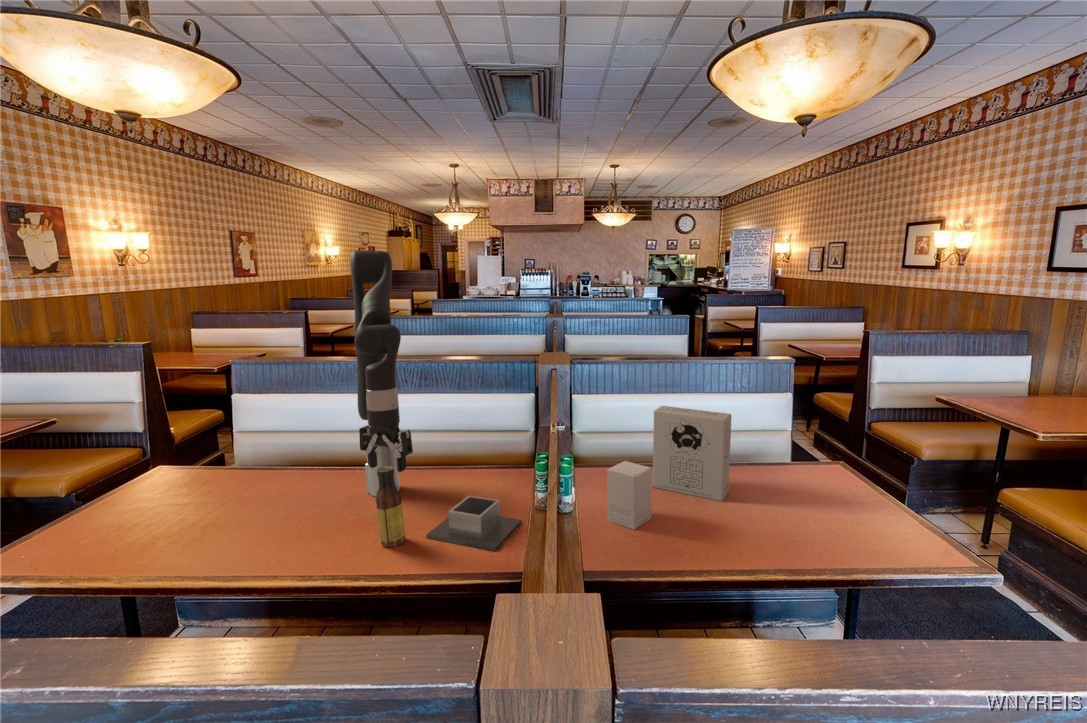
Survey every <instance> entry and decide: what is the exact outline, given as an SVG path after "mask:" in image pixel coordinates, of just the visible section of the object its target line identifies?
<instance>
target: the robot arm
mask: <svg viewBox="0 0 1087 723" xmlns="http://www.w3.org/2000/svg"><path fill="white" fill-rule="evenodd" d="M349 263H350V277H351V285H352V293H353V294H352V296H353V304H354V306H353V307H354V339H353V340H354V347H355V351H356V361H357V362H356V363H357V412H358V415H359V418H360V419H361V420H363V421H367V425H365V426H362V427H360V428H359V429H358V431H359V450H360V451H364V452H365V454H366V460H367V462H366V463H365V465H364V470H365V472H364V473H365V483H366V493H368V494H370V496H372V497H375V498H376V493H377V491H378V489H379V479H378V476H377V470H378V469H379V468H381V467H386V466H390V467H393V469H394V474H393V475H394V482H395V486H396V488H397V491H398V493H399V492H400V490H401V486H400V484H401V483H400V473H402V472H404V471H405V470H406V468H407V456H408V455H411V454H413V452H414V450H413V441H412V432H411V430H410V429H406V430H401V429H400V426H399V425H400V423H401V421H400V420H401V418H400V406H399V404H400V403H399V394H398V389H397V377H396V376H397V374H396V366H397V365H396V363H397V359H398V358H397V357H398V353H399V350H400V345H401V340H402V338H401V337H402V336H401V331H400V330H399V328H398V327H397V326H396V325H394V324H392V323H391V322H392V315H391V313H392V312H391V302H390V301H391V292H392V282H393V263H392V258H391V255H390V253H388V252H387V251H383V250H354V251H353V252H351V254H350V262H349ZM364 285H374V286H373V287H372V288H371V289H369V290H368V292H367V291H366V289H365V287H364Z"/></svg>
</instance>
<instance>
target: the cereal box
mask: <svg viewBox="0 0 1087 723" xmlns="http://www.w3.org/2000/svg"><path fill="white" fill-rule="evenodd" d="M652 432H653V438H652V439H653V440H652V441H653V443H652V444H653V445H652V446H653V447H652V488H655V489H659V490H664V491H665V490H666V491H670V492H675V493H680V494H683V495H689V496H692V497H693V496H694V497H698V498H702V499H708V500H713V501H718V502H723V501H724V500H725V498H726V496H727V495H728V493H729V490H730V489H729V488H730V487H729V486H730V464H731V463H730V462H731V460H730V459H731V441H732V440H731V437H732V436H731V434H732V414H731V413H726V412H720V411H719V412H718V411H711V410H701V409H693V408H687V407H686V408H683V407H678V406H677V407H676V406H668V405H661V406H660V407H658V408H656V409H654V410H653V431H652Z"/></svg>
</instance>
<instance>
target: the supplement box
mask: <svg viewBox="0 0 1087 723" xmlns="http://www.w3.org/2000/svg"><path fill="white" fill-rule="evenodd" d="M606 474H607V476H606V478H607V484H606V485H607V486H606V487H607V490H606V491H607V493H606V494H607V521H608V522H611V523H613V524H617V525H620V526H622V527H625V528H628V529H631V530H633V531H635V530H636V529H638V528H639V527H640V526H642V525H644V524H645V523H647V522H648V521H650V520H651V519H652V482H653V467H650V466H646V465H642V464H639V463H634V462H631V461H627V460H624V461H621V462H620V463H617V464H616V465H612V466H611V467H609V468H607V469H606Z"/></svg>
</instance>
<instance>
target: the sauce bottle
mask: <svg viewBox="0 0 1087 723" xmlns="http://www.w3.org/2000/svg"><path fill="white" fill-rule="evenodd" d="M393 474H394V469H393V467H390V466H386V467H381V468H379V469H378V470H377V476H378V479H379V489H378V491H377V493H376V497H375V502H376V514H377V522H378V523H377V524H378V534H379V539H380V543H381V545H382V546H383V547H387V548H394V547H395V548H396V547H397V546H400V545H402V544H403V543H404V542H405V540H406V530H405V529H406V528H405V521H404V511H403V502H402V497H401V495H400V493H399V492H398V491H397V488H396V486H395V482H394V475H393Z"/></svg>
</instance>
